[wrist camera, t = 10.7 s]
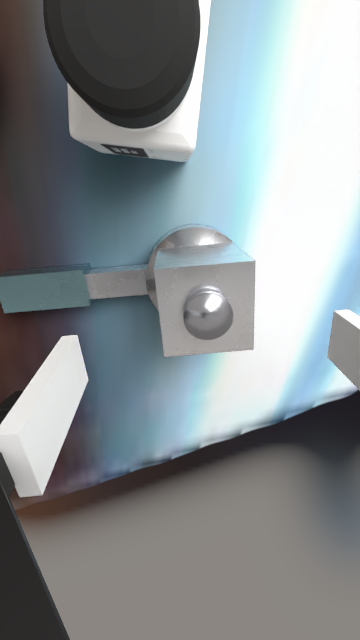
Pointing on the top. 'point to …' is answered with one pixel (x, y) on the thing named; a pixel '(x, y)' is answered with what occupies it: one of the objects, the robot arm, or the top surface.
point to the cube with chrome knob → (205, 298)
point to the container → (131, 72)
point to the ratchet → (93, 277)
